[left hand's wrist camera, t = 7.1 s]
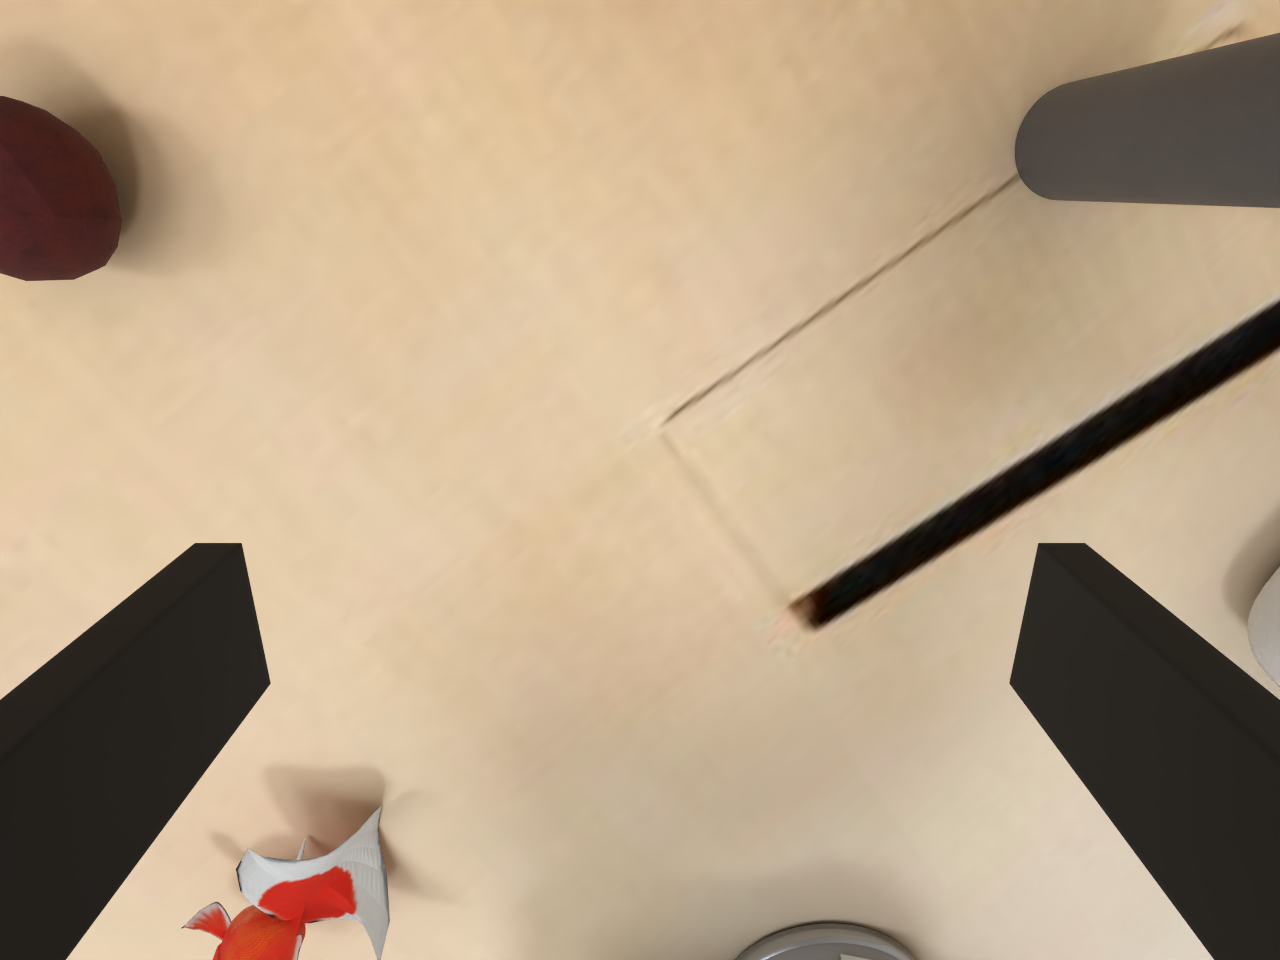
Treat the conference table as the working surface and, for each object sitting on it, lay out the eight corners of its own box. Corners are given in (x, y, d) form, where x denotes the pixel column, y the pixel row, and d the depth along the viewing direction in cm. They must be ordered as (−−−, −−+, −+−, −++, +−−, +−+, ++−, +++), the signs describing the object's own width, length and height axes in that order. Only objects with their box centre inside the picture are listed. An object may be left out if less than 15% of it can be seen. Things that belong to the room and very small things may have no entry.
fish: (107, 897, 47) (106, 1053, 39) (326, 723, 50) (365, 835, 43) (231, 954, 53) (251, 1097, 46) (417, 796, 57) (465, 905, 49)
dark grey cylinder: (1067, 57, 35) (1515, -76, 17) (1148, 123, 36) (1652, 61, 18) (991, 161, 36) (1330, 138, 18) (1071, 220, 37) (1466, 254, 19)
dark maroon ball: (65, 70, 35) (-70, 43, 28) (190, 220, 37) (93, 228, 30) (-42, 167, 36) (-193, 163, 30) (85, 306, 38) (-29, 331, 32)
